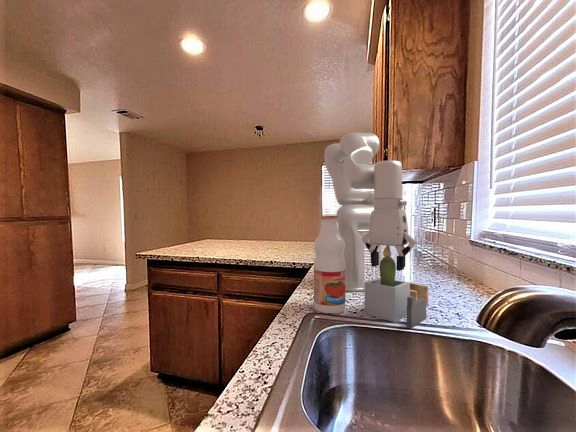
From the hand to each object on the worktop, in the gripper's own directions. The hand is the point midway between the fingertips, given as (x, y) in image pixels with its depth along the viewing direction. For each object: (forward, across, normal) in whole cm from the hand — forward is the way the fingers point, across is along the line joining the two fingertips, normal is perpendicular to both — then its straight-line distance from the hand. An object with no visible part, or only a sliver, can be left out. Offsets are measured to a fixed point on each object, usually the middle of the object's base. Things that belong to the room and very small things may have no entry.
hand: (387, 267), depth 81 cm
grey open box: (+13, 0, 0) cm, 13 cm away
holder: (+13, +1, -12) cm, 18 cm away
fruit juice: (+13, +14, +8) cm, 21 cm away
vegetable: (+13, 0, 0) cm, 13 cm away
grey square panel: (+13, -8, 0) cm, 16 cm away
